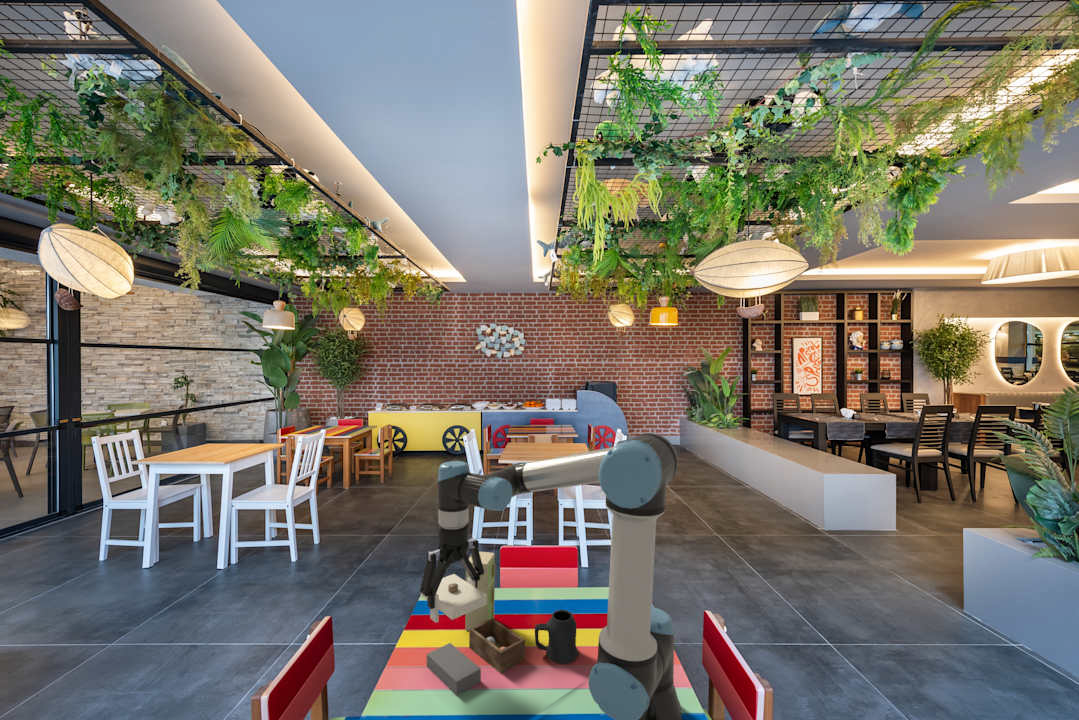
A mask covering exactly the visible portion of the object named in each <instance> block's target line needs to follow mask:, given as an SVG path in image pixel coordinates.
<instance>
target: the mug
mask: <svg viewBox="0 0 1079 720" xmlns="http://www.w3.org/2000/svg"><path fill="white" fill-rule="evenodd" d="M539 631H546V632H547V633H548V644H547V646H545V644H543V643H541V642H540V640H539ZM576 638H577V622H576V619H575V618H574V615H573V613H572V612H571V611H569V610H566V609H558V610H555V611H554V612H553V613H552V614H551V617H550V619H548V621H546V622H545V623H536V624H535V625H534V640H535V641H534V642H535V646H536V647H537V649H539V650H540V651H545V652H546V653H545V655H546V658H547V659H548V660H549V661H551V662H552V663H553V664H558V665H569V664H571V663H574V662H576V661H577V660H578V658H579V650H578V648H577V643H576V642H577V641H576V640H577V639H576Z"/></svg>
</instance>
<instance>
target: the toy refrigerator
mask: <svg viewBox="0 0 1079 720" xmlns="http://www.w3.org/2000/svg"><path fill="white" fill-rule="evenodd" d="M479 554H480V558H481V561H482V565H483V569H484V574H483V575H480V580H479V581H477V589H478V590H480V591H482V592H483V593H485V594H486V595H487V605H485V606H483V607H480V608H478V609H476V610H473V611H471V612H469V613H467V614H464V615H465V620H464V622H465V624H464V625H465V627H464V629H465V631H468V632H469V629H470V628H473V627H475V626H477V625H479V624H481V623H483V622H485V621H488V620H490V619H492V618H493V619H495V593H496V591H495V576H496V563H495V562H496V561H495V559H496V557H495V555H496V554H495V552H488V551H479ZM468 558H469V561H470V562H471V564H472V566H473V567H474V565H473V561H472V557H471V555H470V556H468ZM474 569H475V568H474ZM469 577H470V576H469V574H468V572H467V571H466V570H465V581H466V582H467V578H469ZM470 578H471V577H470Z"/></svg>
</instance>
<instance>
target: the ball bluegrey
mask: <svg viewBox="0 0 1079 720" xmlns="http://www.w3.org/2000/svg"><path fill="white" fill-rule="evenodd" d="M486 639H487V640H489V641H490V642H491V643H493V644H494V645H495V639H494V638H493V637H487V638H486Z"/></svg>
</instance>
